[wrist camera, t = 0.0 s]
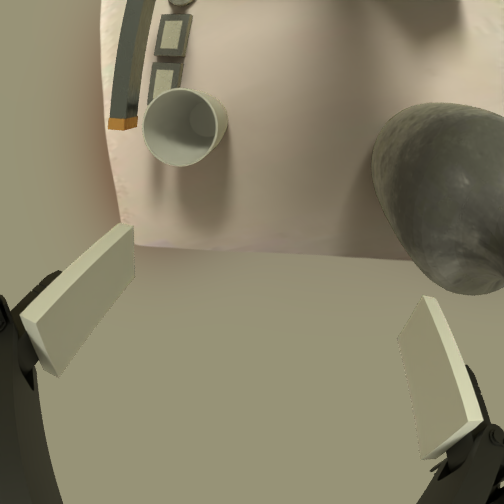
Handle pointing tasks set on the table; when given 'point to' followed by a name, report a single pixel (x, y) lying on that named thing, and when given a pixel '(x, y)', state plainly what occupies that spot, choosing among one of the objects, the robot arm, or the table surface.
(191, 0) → the post
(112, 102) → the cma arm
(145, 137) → the cup
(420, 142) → the vase
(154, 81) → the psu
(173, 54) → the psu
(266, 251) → the table surface
